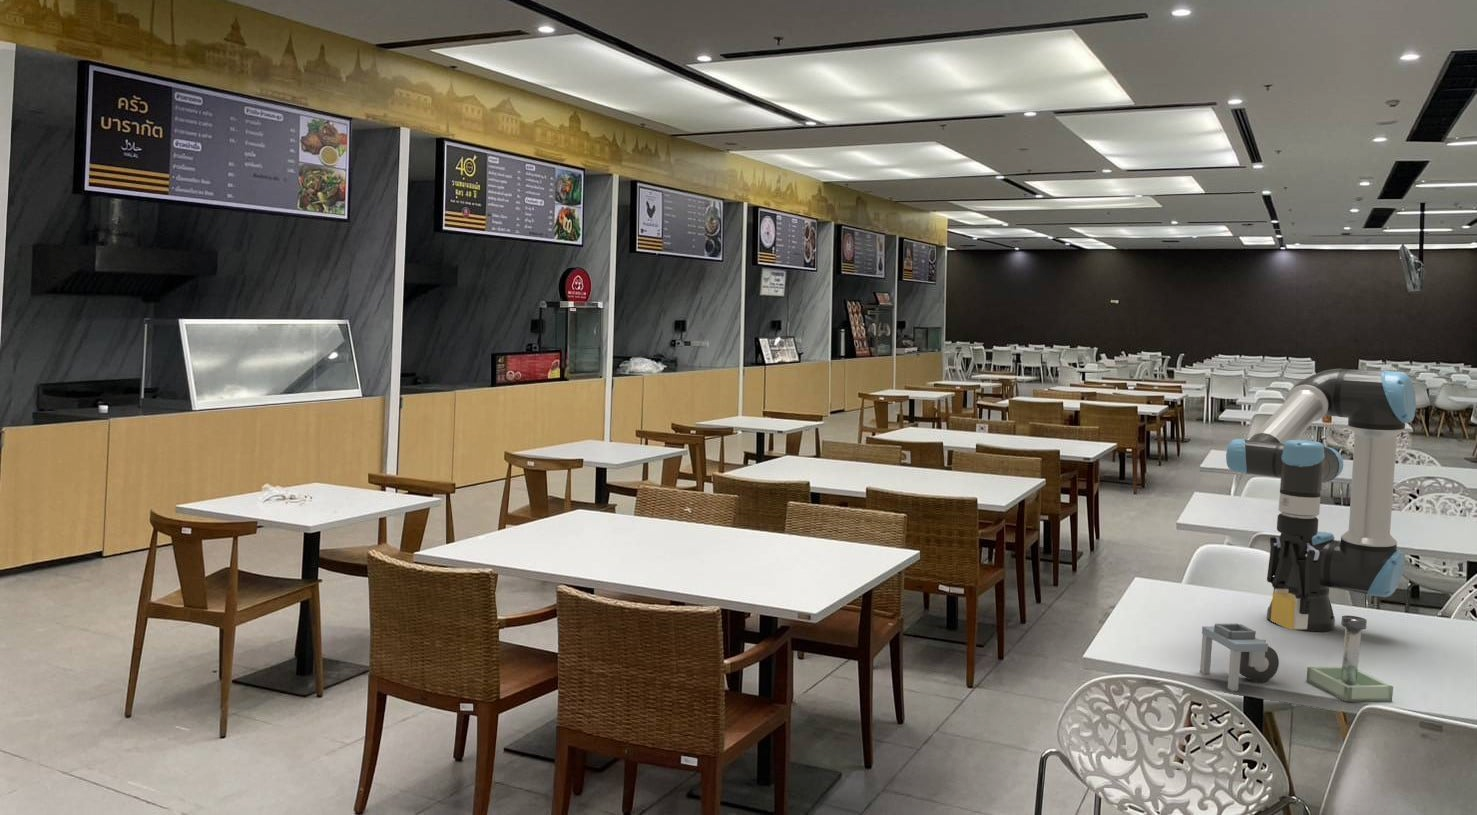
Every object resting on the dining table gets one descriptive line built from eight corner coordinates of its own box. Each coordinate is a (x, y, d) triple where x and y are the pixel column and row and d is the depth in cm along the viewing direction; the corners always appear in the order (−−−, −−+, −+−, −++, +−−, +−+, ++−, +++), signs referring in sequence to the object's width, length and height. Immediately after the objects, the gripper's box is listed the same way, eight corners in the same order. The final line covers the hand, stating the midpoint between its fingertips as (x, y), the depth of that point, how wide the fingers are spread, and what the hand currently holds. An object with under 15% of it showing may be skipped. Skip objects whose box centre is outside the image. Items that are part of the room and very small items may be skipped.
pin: (1350, 684, 218) (1356, 615, 217) (1365, 691, 214) (1371, 621, 213) (1331, 684, 218) (1336, 615, 216) (1345, 692, 213) (1352, 621, 212)
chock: (1287, 620, 224) (1290, 593, 223) (1306, 629, 218) (1309, 600, 217) (1270, 621, 223) (1272, 593, 223) (1288, 629, 217) (1291, 600, 217)
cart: (1199, 671, 225) (1202, 619, 224) (1255, 670, 227) (1259, 619, 226) (1232, 691, 214) (1236, 637, 213) (1291, 690, 215) (1295, 636, 214)
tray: (1349, 680, 223) (1350, 666, 222) (1392, 701, 211) (1393, 686, 211) (1306, 680, 221) (1307, 667, 221) (1346, 702, 209) (1347, 687, 209)
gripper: (1253, 506, 227) (1245, 610, 229) (1312, 524, 209) (1302, 637, 211) (1285, 506, 228) (1276, 610, 230) (1346, 524, 210) (1337, 637, 212)
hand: (1289, 623), depth 221 cm, fingers closed on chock, 6 cm apart
